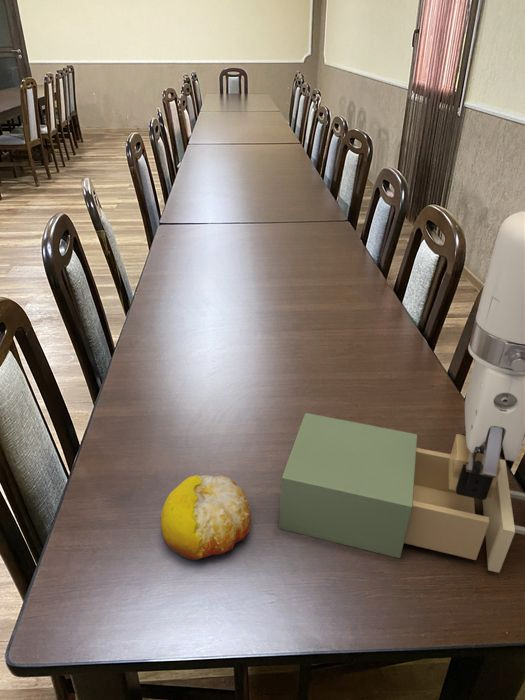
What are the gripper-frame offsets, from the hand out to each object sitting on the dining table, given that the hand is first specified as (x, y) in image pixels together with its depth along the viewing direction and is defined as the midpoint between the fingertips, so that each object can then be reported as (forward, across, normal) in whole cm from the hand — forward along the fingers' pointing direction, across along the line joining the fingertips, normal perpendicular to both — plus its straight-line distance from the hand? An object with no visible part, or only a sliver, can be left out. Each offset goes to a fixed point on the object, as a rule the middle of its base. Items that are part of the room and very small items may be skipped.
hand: (469, 477), depth 62 cm
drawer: (+8, 0, -1) cm, 8 cm away
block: (0, 0, 0) cm, 0 cm away
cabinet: (+9, 0, +13) cm, 16 cm away
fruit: (+9, -9, +29) cm, 32 cm away
